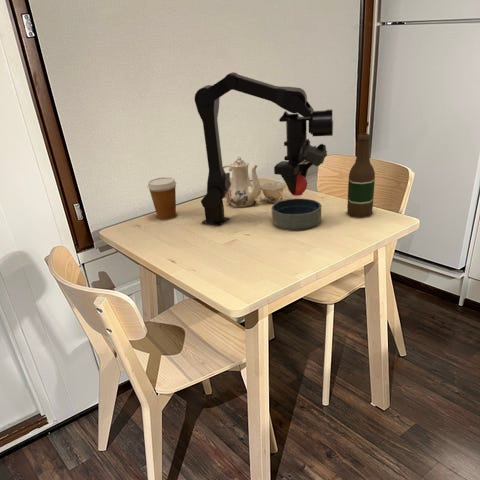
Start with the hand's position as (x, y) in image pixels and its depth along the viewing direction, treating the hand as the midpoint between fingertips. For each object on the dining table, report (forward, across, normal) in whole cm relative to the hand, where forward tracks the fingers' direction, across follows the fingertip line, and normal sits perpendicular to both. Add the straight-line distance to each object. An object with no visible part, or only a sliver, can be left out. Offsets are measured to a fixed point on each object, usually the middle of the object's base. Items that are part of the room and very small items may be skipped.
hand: (297, 190), depth 148 cm
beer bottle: (+10, +13, -16) cm, 23 cm away
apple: (+1, 0, 0) cm, 1 cm away
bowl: (+10, 0, 0) cm, 10 cm away
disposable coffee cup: (+10, -10, +44) cm, 46 cm away
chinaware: (+10, +13, +25) cm, 30 cm away
